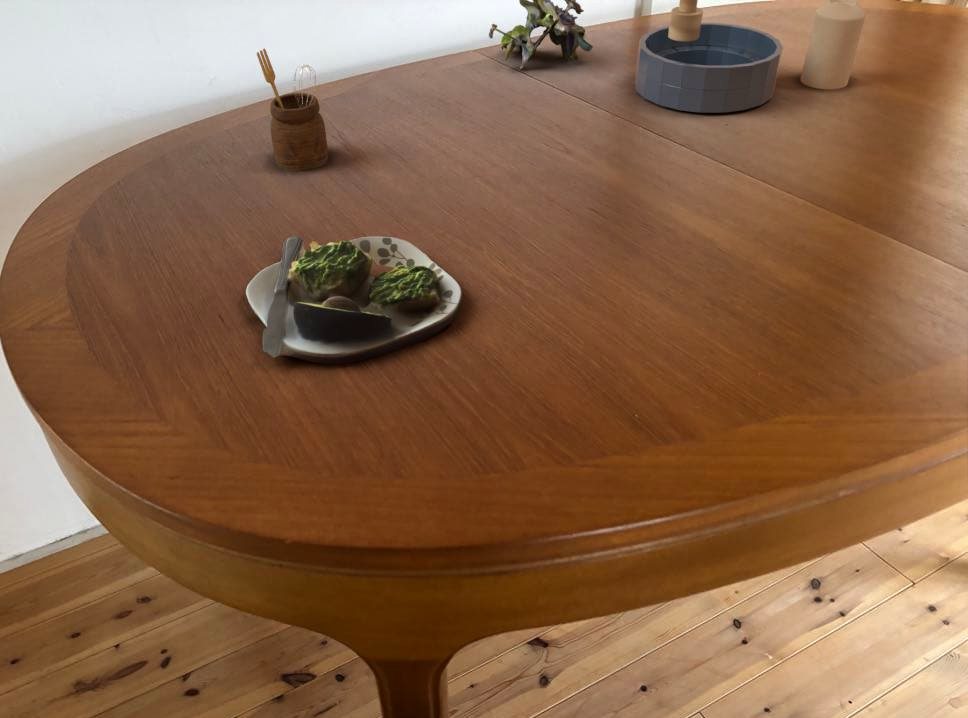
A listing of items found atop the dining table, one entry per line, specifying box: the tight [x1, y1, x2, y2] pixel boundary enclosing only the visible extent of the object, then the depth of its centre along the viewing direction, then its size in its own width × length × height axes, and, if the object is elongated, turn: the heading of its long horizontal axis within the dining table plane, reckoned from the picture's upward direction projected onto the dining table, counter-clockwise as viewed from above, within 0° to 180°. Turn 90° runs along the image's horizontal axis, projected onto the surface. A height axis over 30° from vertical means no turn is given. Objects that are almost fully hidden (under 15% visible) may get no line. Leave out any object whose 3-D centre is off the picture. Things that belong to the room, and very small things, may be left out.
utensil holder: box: [256, 47, 329, 172], centre depth 95 cm, size 6×6×12 cm
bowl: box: [634, 22, 784, 114], centre depth 108 cm, size 16×16×6 cm
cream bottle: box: [800, 0, 866, 90], centre depth 107 cm, size 6×6×10 cm
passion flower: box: [488, 0, 594, 71], centre depth 117 cm, size 11×11×12 cm
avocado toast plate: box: [245, 235, 463, 365], centre depth 75 cm, size 19×18×5 cm
